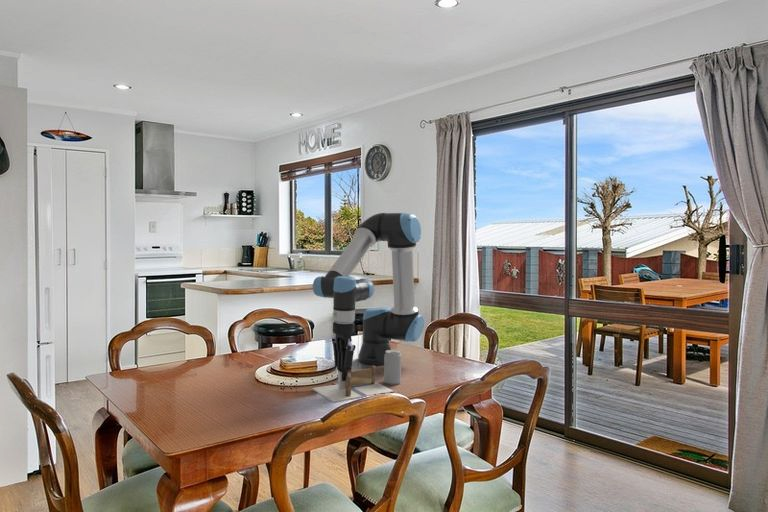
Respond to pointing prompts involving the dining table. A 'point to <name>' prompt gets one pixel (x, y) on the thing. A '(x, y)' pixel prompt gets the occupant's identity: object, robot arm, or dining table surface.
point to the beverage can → (392, 367)
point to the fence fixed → (362, 376)
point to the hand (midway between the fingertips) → (342, 388)
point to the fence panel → (348, 385)
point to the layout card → (356, 391)
